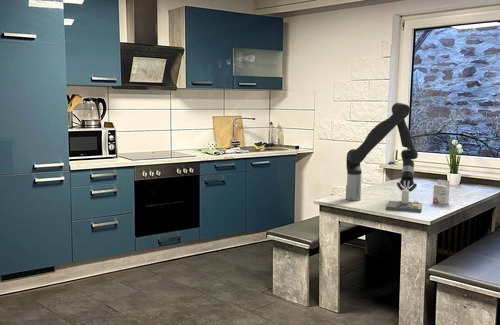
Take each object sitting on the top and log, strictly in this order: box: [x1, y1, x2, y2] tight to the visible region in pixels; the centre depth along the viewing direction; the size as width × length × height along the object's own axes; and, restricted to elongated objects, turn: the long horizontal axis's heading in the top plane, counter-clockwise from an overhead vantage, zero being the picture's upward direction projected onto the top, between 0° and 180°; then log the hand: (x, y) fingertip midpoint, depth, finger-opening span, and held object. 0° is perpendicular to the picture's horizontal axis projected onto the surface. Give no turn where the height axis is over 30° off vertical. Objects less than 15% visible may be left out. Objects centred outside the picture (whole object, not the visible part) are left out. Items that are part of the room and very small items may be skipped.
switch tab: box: [400, 189, 410, 204], centre depth 311 cm, size 4×4×8 cm
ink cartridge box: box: [432, 179, 450, 205], centre depth 322 cm, size 9×5×15 cm, turn 44°
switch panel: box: [385, 200, 423, 213], centre depth 308 cm, size 20×18×4 cm
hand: (405, 196), depth 317 cm, fingers closed
